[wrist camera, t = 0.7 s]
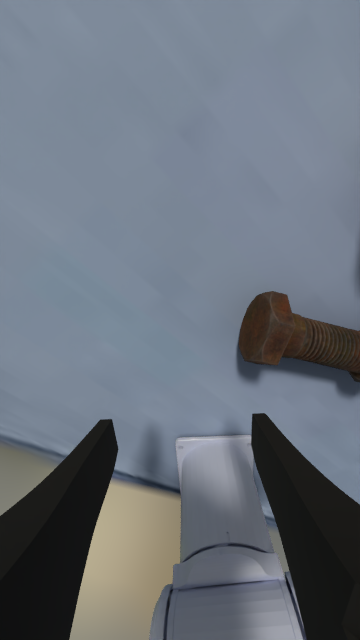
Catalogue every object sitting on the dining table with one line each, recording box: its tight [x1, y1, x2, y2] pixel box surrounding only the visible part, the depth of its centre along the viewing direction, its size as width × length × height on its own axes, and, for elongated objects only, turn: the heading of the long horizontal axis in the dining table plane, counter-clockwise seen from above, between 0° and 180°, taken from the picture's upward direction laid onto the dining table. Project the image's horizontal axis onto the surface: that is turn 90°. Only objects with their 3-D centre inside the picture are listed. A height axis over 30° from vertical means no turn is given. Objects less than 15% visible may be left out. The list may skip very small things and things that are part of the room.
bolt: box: [239, 291, 360, 382], centre depth 18 cm, size 6×5×15 cm
